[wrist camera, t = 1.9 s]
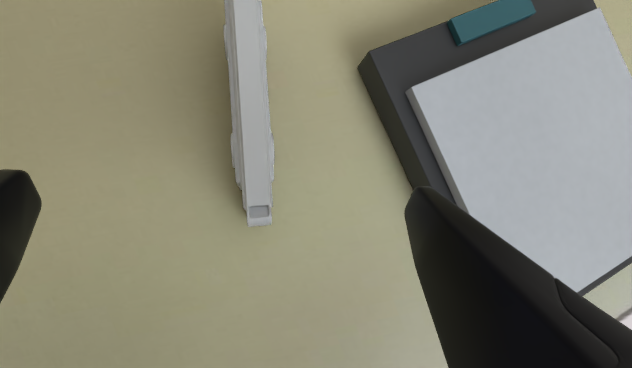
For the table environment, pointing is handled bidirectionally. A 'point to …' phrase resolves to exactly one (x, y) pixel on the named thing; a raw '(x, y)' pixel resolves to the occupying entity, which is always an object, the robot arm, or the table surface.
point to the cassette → (250, 108)
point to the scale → (519, 128)
